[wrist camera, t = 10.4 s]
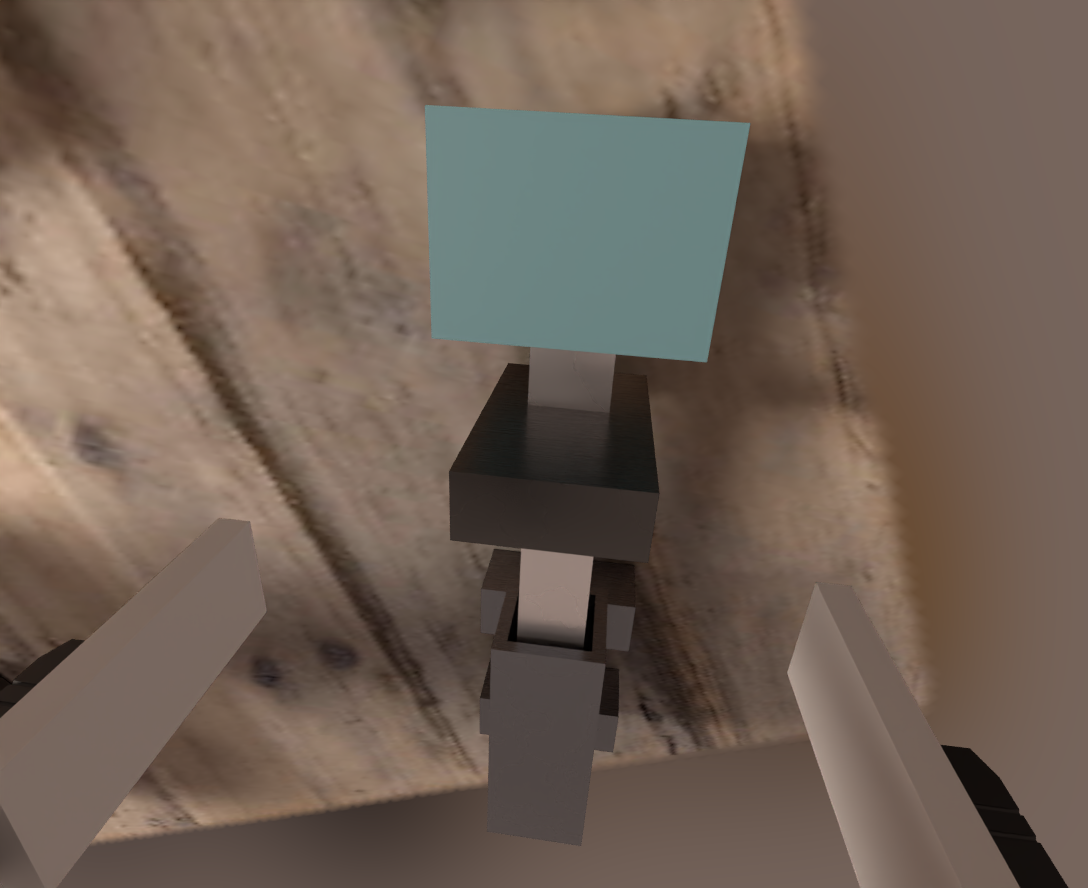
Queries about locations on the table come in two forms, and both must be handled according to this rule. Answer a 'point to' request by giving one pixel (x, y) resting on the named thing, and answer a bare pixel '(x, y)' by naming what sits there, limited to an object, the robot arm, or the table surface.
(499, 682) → the sleeve
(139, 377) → the table surface
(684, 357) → the teal rectangular block
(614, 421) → the rod
